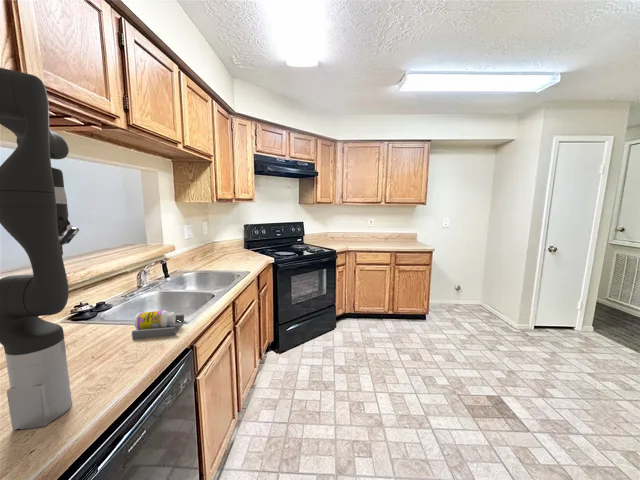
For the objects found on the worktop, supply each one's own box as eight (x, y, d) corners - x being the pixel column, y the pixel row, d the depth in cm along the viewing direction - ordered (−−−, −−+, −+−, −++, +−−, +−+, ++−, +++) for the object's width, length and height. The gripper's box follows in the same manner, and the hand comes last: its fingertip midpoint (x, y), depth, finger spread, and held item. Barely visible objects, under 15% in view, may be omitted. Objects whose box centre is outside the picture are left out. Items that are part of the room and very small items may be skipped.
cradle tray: (174, 335, 100) (174, 328, 100) (132, 339, 97) (131, 331, 97) (184, 320, 113) (183, 314, 112) (147, 323, 110) (146, 316, 109)
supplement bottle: (137, 309, 104) (174, 305, 107) (141, 320, 107) (177, 316, 111) (132, 323, 98) (171, 319, 102) (136, 334, 102) (174, 330, 106)
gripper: (12, 201, 77) (20, 261, 79) (66, 202, 79) (72, 259, 81) (34, 201, 84) (41, 256, 86) (83, 202, 87) (88, 255, 89)
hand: (56, 258), depth 84 cm, fingers closed
